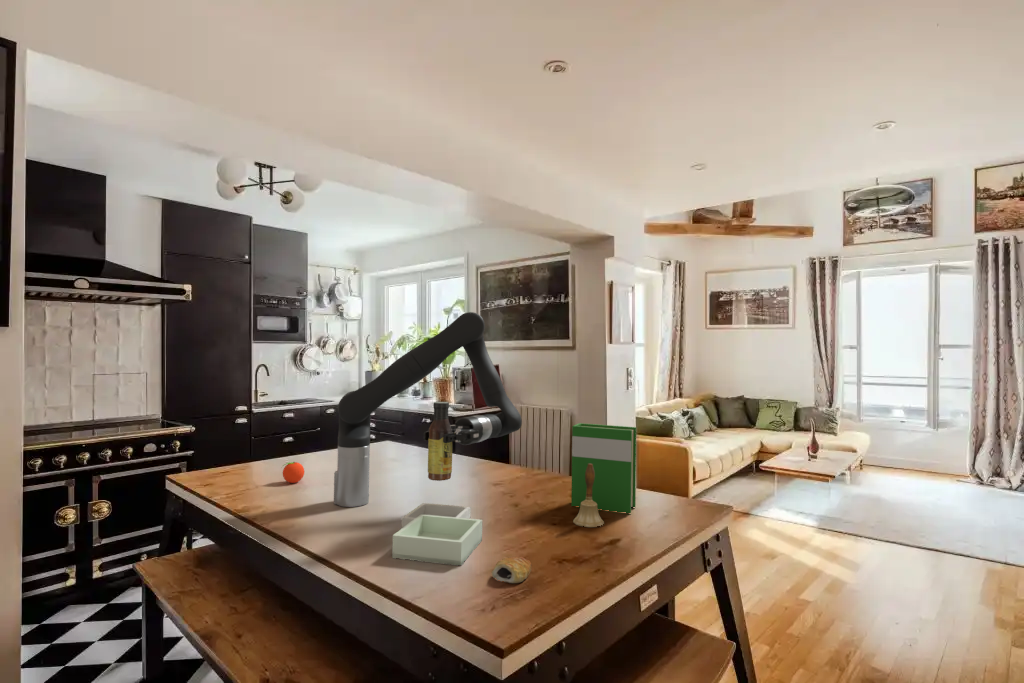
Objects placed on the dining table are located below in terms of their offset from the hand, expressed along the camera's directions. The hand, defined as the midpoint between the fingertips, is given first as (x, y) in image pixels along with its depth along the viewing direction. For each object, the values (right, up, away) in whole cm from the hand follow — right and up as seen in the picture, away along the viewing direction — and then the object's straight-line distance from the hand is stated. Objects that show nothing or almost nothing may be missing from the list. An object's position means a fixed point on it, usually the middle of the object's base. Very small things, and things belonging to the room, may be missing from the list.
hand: (434, 437), depth 139 cm
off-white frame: (0, -24, +5) cm, 24 cm away
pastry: (+20, -24, -27) cm, 41 cm away
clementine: (-55, -24, +46) cm, 75 cm away
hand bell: (+41, -25, +8) cm, 48 cm away
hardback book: (+47, -25, +23) cm, 58 cm away
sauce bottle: (+1, -11, +2) cm, 11 cm away
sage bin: (+3, -24, -13) cm, 27 cm away
